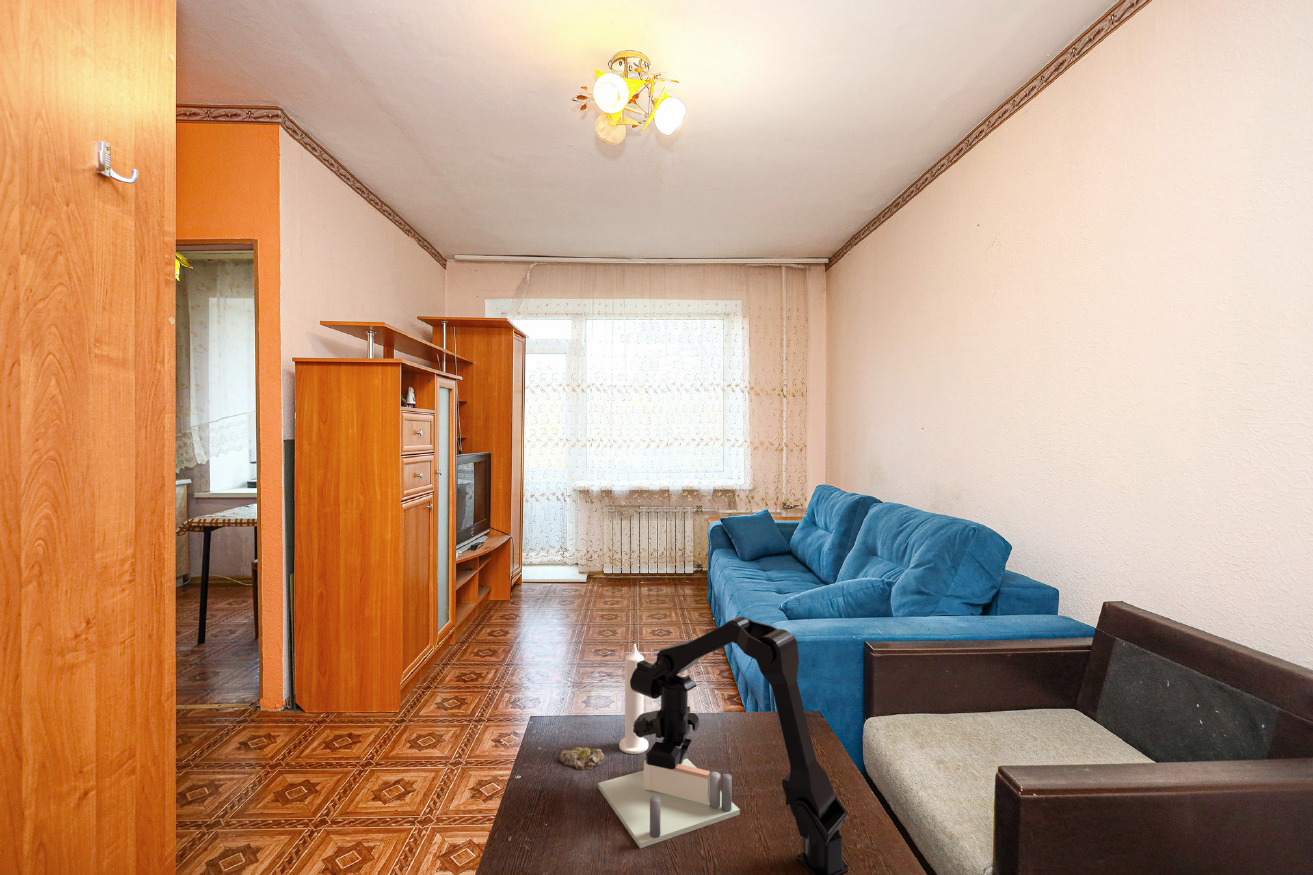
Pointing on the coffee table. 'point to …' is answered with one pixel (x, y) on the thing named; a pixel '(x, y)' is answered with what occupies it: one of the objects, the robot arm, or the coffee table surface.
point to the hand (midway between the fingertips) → (673, 777)
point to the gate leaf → (684, 783)
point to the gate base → (662, 808)
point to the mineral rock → (582, 757)
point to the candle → (632, 708)
